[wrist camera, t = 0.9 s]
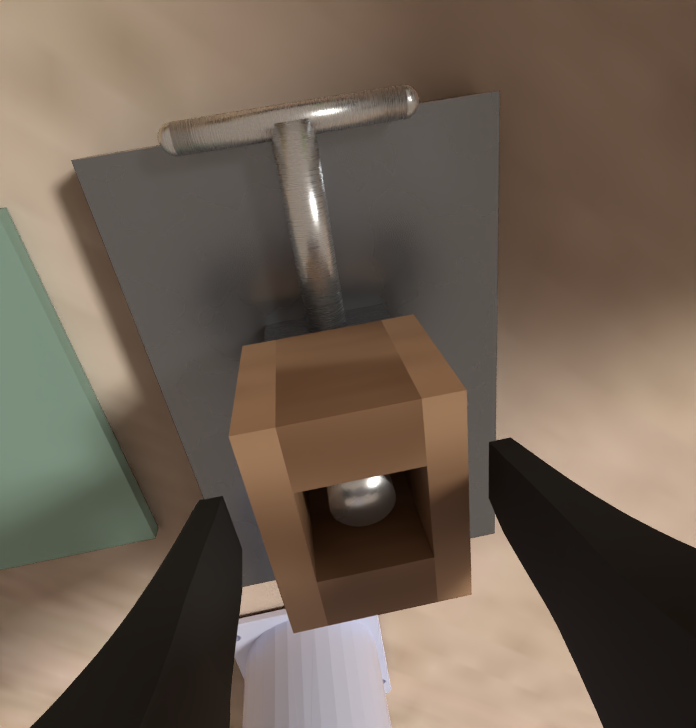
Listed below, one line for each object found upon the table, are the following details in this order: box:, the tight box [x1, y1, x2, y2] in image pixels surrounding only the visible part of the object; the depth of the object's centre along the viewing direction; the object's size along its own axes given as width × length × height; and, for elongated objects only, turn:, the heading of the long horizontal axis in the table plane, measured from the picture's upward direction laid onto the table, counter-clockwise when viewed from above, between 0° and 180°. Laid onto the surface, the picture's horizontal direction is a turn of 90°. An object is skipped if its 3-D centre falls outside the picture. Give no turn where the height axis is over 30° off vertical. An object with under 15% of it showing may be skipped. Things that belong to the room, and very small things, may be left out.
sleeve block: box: [229, 314, 472, 633], centre depth 14 cm, size 7×5×4 cm
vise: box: [71, 85, 500, 587], centre depth 15 cm, size 18×12×7 cm, turn 8°
